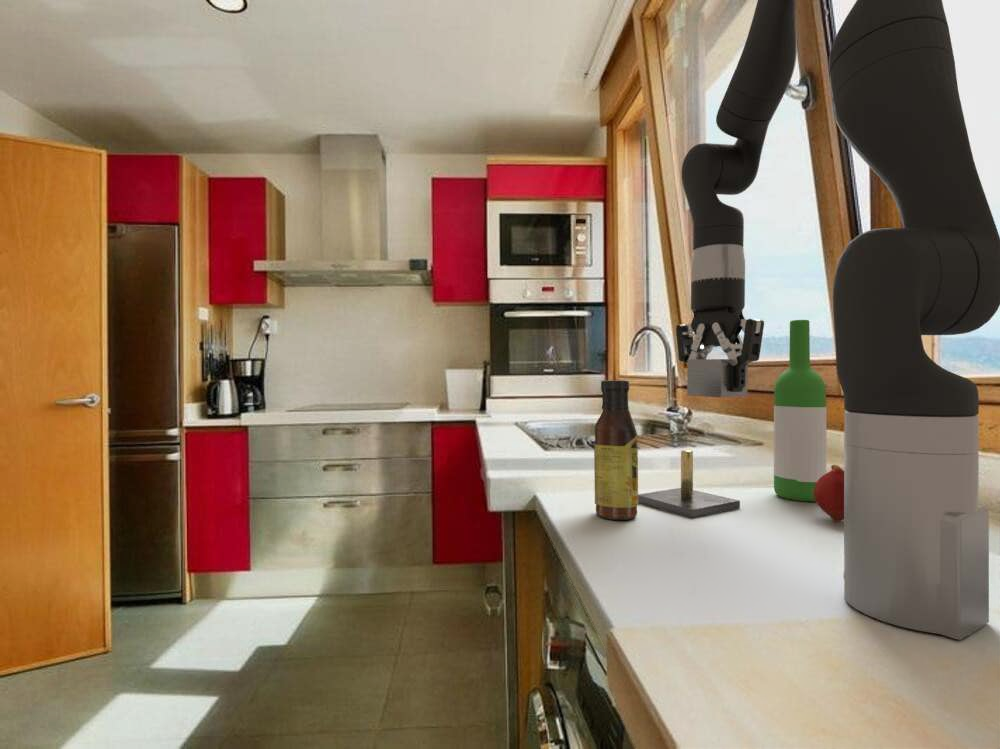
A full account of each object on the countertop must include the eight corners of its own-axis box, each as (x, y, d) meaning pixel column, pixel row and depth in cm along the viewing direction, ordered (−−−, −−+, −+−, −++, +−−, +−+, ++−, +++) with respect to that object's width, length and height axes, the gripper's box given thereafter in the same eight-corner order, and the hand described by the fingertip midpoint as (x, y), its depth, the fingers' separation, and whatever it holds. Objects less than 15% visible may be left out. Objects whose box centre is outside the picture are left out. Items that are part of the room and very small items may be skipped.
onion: (848, 516, 76) (848, 461, 76) (872, 527, 71) (872, 468, 71) (806, 515, 77) (806, 461, 77) (826, 526, 71) (826, 467, 71)
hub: (739, 508, 81) (739, 452, 81) (692, 518, 75) (692, 458, 75) (682, 494, 90) (682, 444, 90) (636, 502, 85) (636, 449, 85)
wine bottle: (784, 490, 94) (784, 323, 94) (833, 498, 88) (833, 320, 88) (765, 496, 89) (765, 320, 89) (815, 505, 83) (816, 316, 83)
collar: (747, 396, 78) (747, 359, 78) (721, 397, 75) (721, 359, 75) (713, 394, 83) (713, 359, 83) (687, 395, 80) (687, 359, 80)
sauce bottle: (643, 522, 73) (643, 380, 73) (598, 521, 73) (598, 380, 73) (632, 510, 80) (632, 380, 80) (591, 509, 80) (591, 379, 80)
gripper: (778, 274, 74) (776, 392, 75) (695, 287, 87) (694, 388, 87) (745, 269, 70) (743, 393, 71) (663, 283, 83) (662, 389, 83)
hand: (716, 390), depth 79 cm, fingers closed on collar, 6 cm apart
